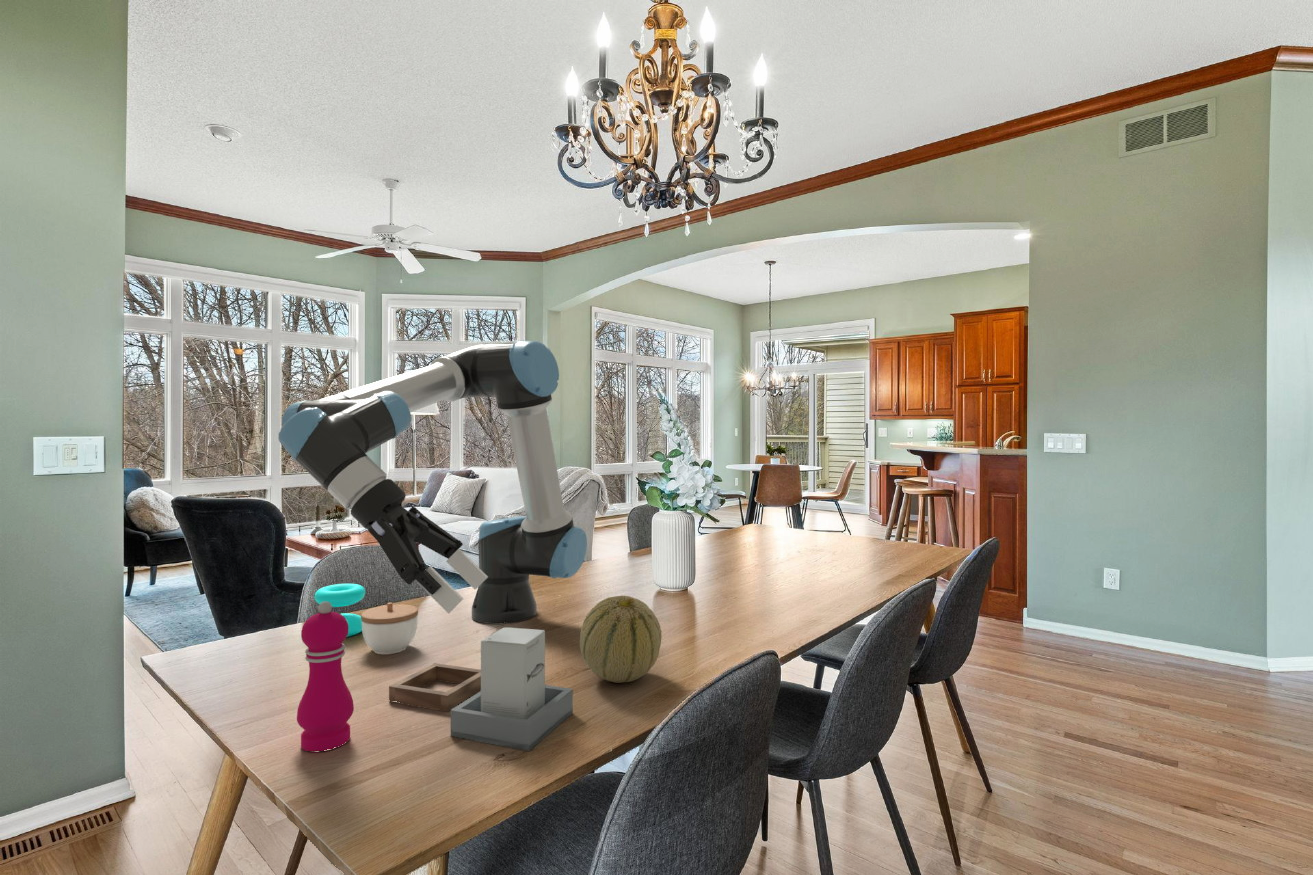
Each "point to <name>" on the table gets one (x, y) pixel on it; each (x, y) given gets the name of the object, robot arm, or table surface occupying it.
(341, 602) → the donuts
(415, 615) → the lidded jar
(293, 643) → the table surface
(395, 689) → the walnut collar
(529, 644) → the supplement box
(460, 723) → the slate tray
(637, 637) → the cantaloupe
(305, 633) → the pepper mill
